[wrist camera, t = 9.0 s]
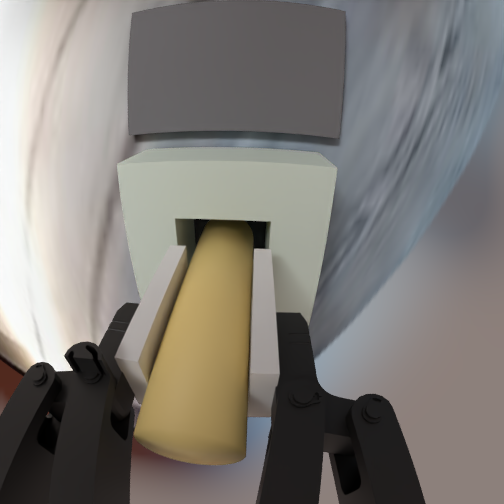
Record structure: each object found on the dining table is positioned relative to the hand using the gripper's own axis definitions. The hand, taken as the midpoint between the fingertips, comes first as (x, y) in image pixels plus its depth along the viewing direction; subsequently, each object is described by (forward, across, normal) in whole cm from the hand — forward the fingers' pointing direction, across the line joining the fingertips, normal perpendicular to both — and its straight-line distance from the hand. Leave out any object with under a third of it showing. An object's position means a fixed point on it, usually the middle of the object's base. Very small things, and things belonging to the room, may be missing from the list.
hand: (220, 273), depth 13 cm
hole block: (+5, 0, 0) cm, 5 cm away
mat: (+5, 0, +10) cm, 11 cm away
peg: (+4, 0, 0) cm, 4 cm away
